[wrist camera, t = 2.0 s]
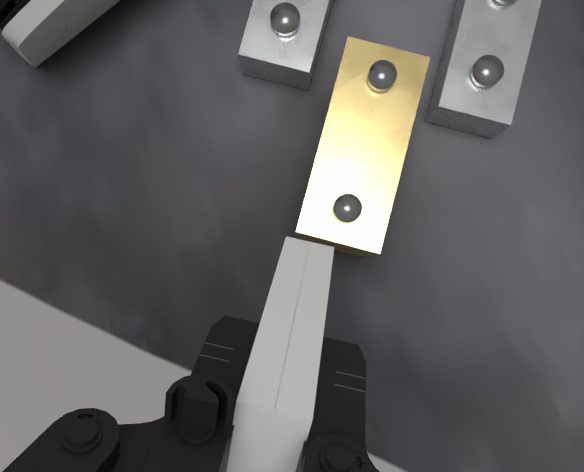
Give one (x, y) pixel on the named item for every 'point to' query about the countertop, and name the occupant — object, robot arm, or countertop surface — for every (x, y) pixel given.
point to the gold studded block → (362, 148)
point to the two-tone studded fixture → (452, 70)
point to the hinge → (46, 24)
